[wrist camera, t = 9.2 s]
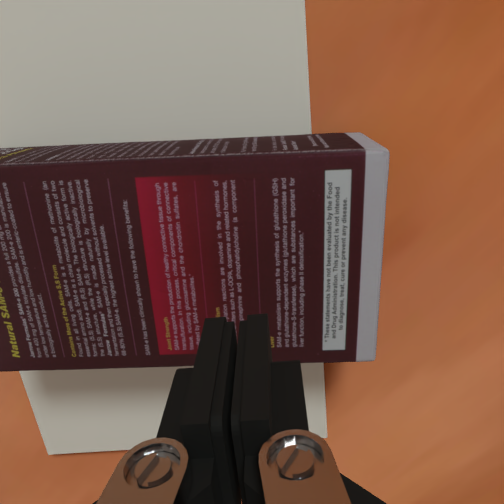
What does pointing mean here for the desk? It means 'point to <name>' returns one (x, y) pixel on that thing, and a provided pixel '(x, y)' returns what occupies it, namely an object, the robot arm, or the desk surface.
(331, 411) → the desk surface
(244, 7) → the mat
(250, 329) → the robot arm
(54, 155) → the supplement box
